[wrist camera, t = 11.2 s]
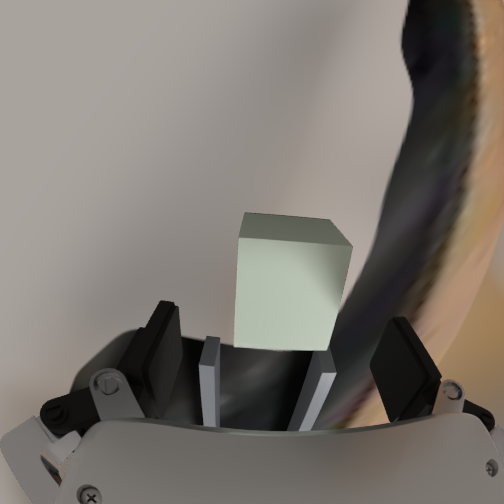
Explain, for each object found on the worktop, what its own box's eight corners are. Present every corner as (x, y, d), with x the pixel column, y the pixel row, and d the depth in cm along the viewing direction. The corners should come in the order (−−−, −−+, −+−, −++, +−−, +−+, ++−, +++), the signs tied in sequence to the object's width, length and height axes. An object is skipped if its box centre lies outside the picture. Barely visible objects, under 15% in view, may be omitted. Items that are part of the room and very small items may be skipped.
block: (314, 306, 18) (326, 350, 14) (239, 301, 18) (233, 346, 14) (329, 219, 16) (353, 246, 11) (244, 212, 16) (238, 237, 11)
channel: (290, 442, 25) (291, 464, 22) (210, 437, 25) (207, 459, 22) (328, 344, 19) (336, 372, 16) (206, 335, 19) (198, 364, 16)
